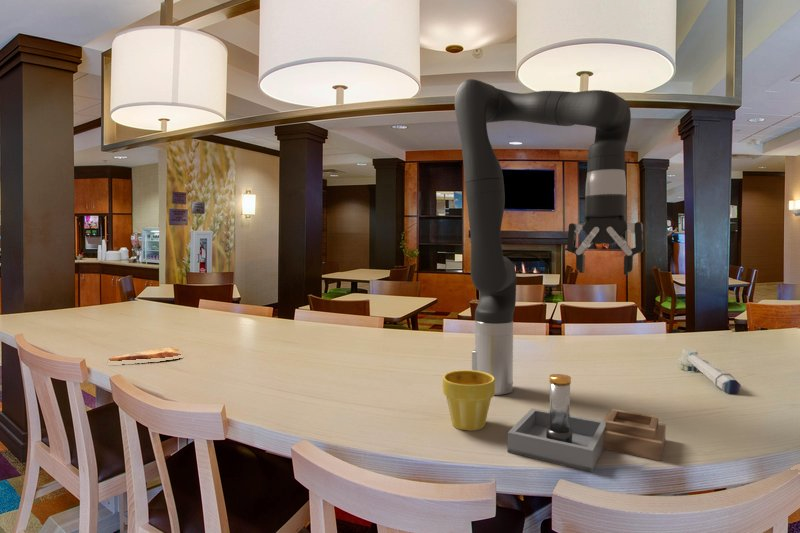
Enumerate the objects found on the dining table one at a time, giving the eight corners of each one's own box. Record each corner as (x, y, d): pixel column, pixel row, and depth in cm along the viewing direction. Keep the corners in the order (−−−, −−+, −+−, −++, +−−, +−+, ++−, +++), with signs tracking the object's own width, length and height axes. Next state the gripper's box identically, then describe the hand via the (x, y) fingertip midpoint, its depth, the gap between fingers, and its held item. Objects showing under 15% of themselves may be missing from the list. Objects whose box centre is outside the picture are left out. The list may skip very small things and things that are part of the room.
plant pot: (489, 438, 89) (489, 386, 89) (436, 430, 93) (436, 381, 93) (498, 418, 99) (499, 372, 99) (450, 412, 103) (450, 367, 102)
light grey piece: (721, 378, 113) (675, 342, 138) (718, 404, 115) (673, 364, 139) (745, 379, 113) (695, 342, 137) (742, 405, 114) (693, 364, 138)
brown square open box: (597, 447, 85) (597, 422, 85) (606, 428, 93) (607, 406, 93) (661, 461, 80) (661, 434, 79) (665, 439, 88) (665, 415, 88)
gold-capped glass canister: (542, 443, 85) (543, 377, 85) (551, 436, 89) (552, 372, 88) (566, 450, 83) (568, 381, 82) (575, 442, 86) (576, 376, 85)
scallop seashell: (100, 365, 146) (100, 353, 146) (151, 352, 163) (151, 342, 162) (142, 371, 139) (142, 358, 139) (191, 357, 156) (190, 346, 156)
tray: (507, 452, 84) (507, 432, 83) (531, 425, 95) (531, 408, 95) (592, 472, 76) (592, 450, 76) (607, 440, 88) (607, 422, 88)
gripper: (564, 194, 98) (563, 273, 99) (642, 190, 90) (640, 276, 91) (573, 197, 104) (571, 271, 105) (646, 193, 96) (644, 273, 97)
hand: (603, 273), depth 98 cm, fingers open, 8 cm apart
